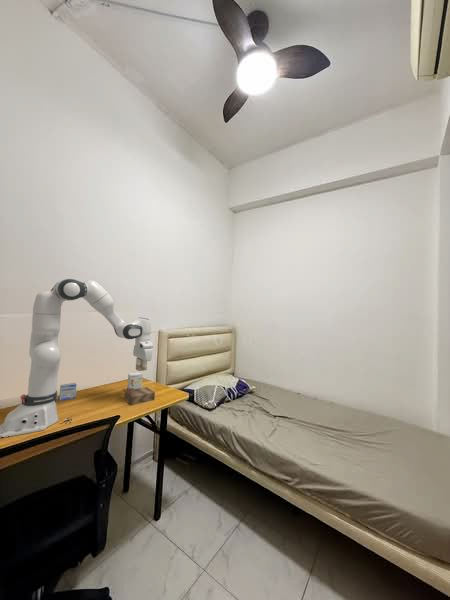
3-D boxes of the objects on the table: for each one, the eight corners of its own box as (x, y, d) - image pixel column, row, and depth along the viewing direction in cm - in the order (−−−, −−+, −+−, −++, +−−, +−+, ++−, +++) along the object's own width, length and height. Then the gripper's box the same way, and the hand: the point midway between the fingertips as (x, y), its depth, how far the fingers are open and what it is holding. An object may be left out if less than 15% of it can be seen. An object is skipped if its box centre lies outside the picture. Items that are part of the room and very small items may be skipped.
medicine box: (60, 401, 139) (61, 386, 140) (59, 398, 143) (60, 384, 143) (75, 398, 144) (76, 384, 145) (74, 396, 148) (75, 382, 148)
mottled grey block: (138, 371, 144) (139, 359, 144) (135, 369, 148) (136, 358, 148) (146, 370, 148) (147, 358, 148) (143, 368, 151) (144, 357, 152)
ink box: (128, 393, 157) (129, 375, 157) (126, 390, 161) (127, 373, 161) (141, 390, 162) (142, 373, 162) (139, 388, 166) (140, 371, 166)
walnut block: (131, 405, 138) (132, 397, 138) (124, 399, 147) (125, 391, 147) (154, 400, 147) (154, 392, 148) (146, 394, 156) (146, 386, 156)
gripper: (131, 341, 154) (130, 362, 153) (144, 346, 139) (143, 369, 138) (140, 340, 158) (139, 361, 158) (154, 345, 143) (153, 368, 143)
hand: (141, 365), depth 148 cm, fingers closed on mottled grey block, 5 cm apart
